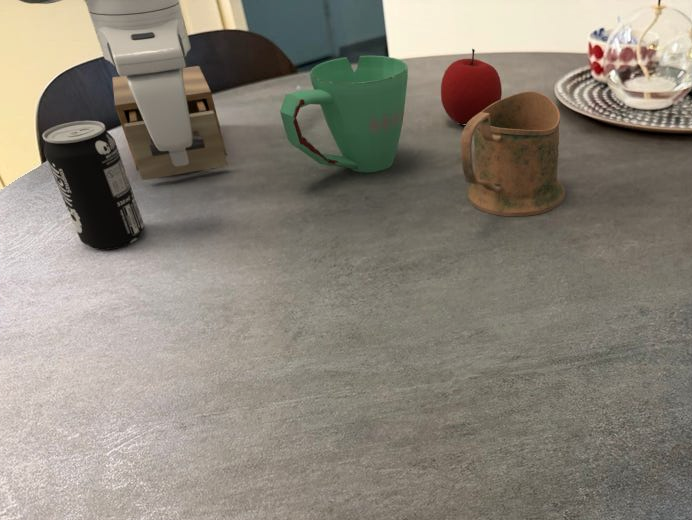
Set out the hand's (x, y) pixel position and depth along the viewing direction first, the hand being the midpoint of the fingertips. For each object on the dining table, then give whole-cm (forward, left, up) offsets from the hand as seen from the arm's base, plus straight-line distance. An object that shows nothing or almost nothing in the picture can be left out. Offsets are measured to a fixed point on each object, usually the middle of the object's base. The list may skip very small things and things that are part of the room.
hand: (180, 161), depth 83 cm
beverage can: (-9, -7, -5) cm, 12 cm away
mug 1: (+20, -1, -5) cm, 21 cm away
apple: (+41, +9, -5) cm, 42 cm away
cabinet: (0, +19, -4) cm, 19 cm away
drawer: (0, +10, -4) cm, 10 cm away
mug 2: (+33, -19, -5) cm, 39 cm away
